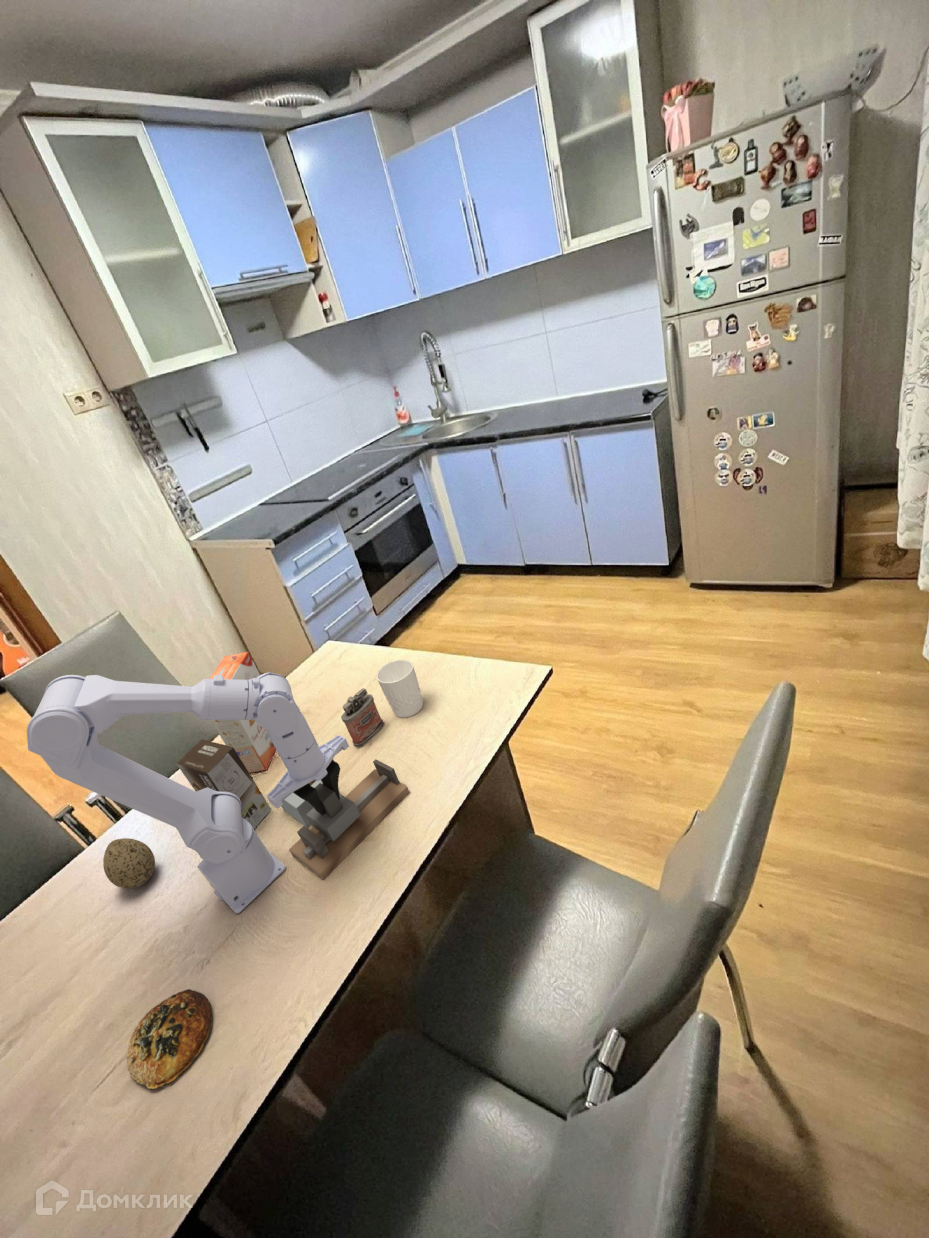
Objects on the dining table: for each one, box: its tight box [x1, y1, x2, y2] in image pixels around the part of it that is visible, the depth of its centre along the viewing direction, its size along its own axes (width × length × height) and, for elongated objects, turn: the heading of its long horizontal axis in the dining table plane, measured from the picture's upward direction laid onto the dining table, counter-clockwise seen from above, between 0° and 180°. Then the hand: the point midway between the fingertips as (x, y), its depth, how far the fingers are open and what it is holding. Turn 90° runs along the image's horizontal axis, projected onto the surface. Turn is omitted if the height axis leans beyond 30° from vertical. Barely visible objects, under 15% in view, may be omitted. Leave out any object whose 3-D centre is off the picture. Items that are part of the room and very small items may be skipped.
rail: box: [288, 759, 410, 881], centre depth 98 cm, size 20×9×5 cm, turn 139°
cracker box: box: [209, 651, 277, 774], centre depth 118 cm, size 14×6×21 cm, turn 179°
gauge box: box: [280, 780, 341, 828], centre depth 104 cm, size 8×8×5 cm
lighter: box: [340, 687, 385, 748], centre depth 116 cm, size 8×3×10 cm, turn 143°
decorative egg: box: [103, 837, 156, 890], centre depth 97 cm, size 7×7×10 cm
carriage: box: [306, 783, 361, 841], centre depth 94 cm, size 6×6×7 cm
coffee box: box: [176, 739, 272, 830], centre depth 103 cm, size 9×6×16 cm
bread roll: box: [126, 988, 213, 1090], centre depth 74 cm, size 11×11×5 cm
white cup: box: [375, 658, 424, 718], centre depth 121 cm, size 8×8×10 cm
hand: (328, 805), depth 94 cm, fingers closed on carriage, 2 cm apart
